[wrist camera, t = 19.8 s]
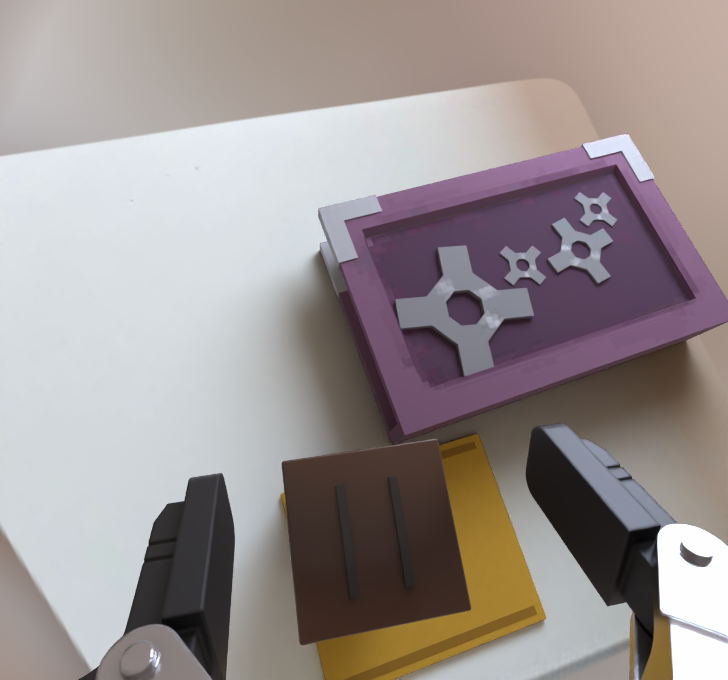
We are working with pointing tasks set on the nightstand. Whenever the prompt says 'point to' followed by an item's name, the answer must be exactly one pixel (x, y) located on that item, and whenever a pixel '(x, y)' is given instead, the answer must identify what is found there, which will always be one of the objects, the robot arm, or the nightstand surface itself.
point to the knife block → (372, 540)
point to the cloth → (483, 577)
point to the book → (513, 282)
